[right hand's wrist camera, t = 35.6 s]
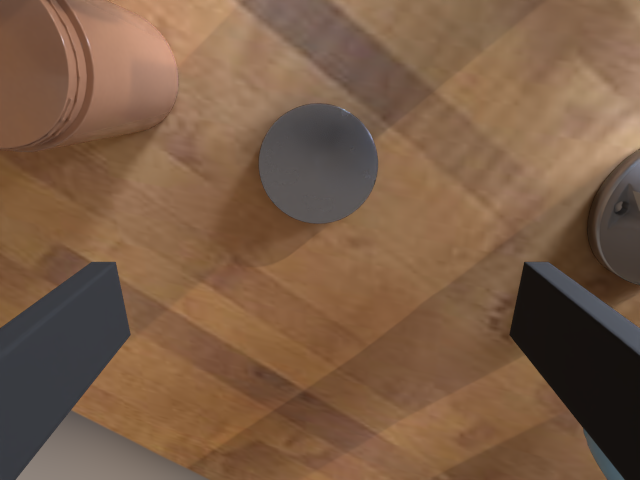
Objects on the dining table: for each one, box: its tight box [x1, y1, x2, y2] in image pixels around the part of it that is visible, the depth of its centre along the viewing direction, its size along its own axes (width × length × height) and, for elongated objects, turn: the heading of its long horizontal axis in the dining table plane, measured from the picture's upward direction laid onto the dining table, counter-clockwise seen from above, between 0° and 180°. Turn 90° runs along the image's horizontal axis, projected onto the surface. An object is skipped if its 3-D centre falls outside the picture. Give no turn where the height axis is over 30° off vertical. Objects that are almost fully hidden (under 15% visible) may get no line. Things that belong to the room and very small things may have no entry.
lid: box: [259, 103, 378, 224], centre depth 36 cm, size 11×11×2 cm
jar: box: [0, 0, 179, 152], centre depth 27 cm, size 10×10×16 cm
